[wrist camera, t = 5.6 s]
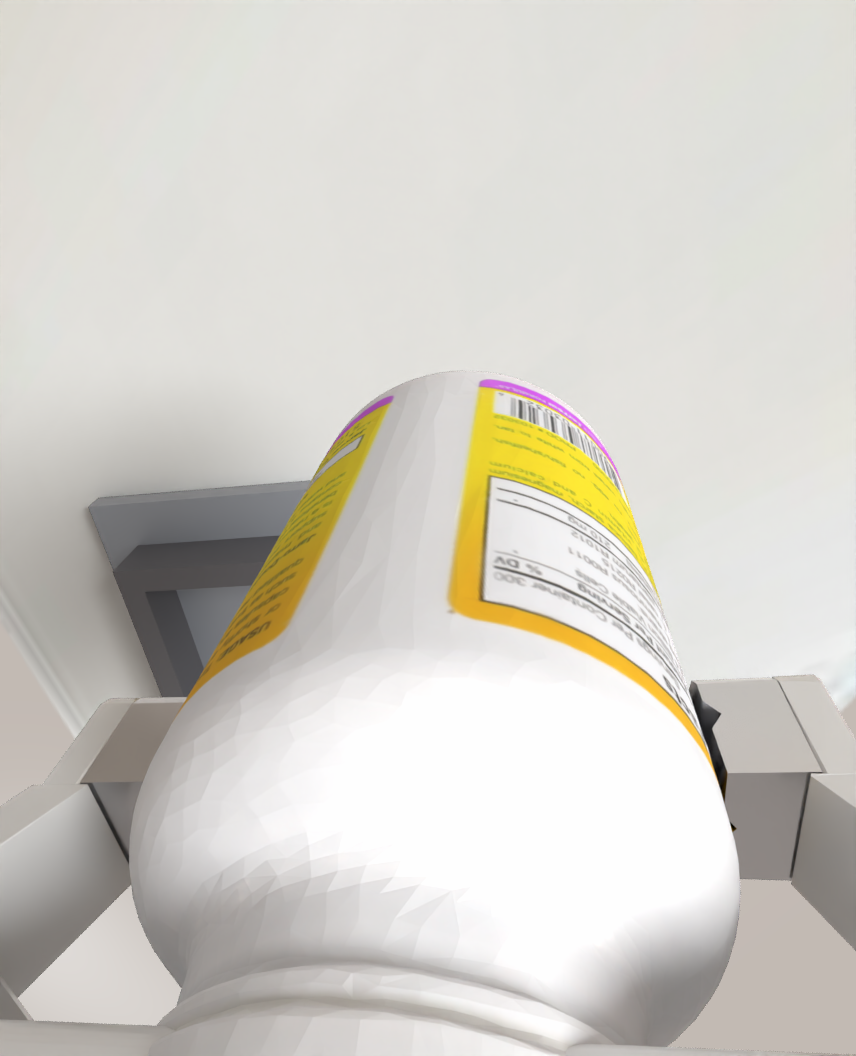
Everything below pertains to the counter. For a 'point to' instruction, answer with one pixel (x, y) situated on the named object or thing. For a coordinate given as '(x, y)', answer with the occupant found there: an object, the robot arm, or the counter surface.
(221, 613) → the pocket plate
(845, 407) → the counter surface
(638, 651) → the supplement bottle
